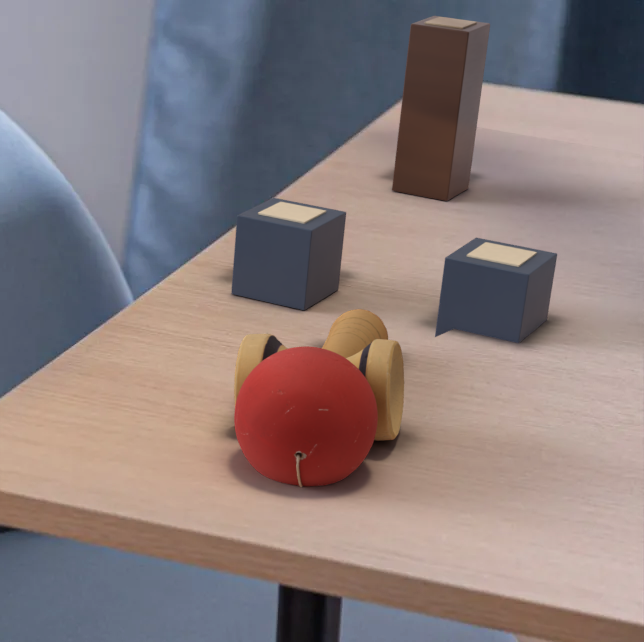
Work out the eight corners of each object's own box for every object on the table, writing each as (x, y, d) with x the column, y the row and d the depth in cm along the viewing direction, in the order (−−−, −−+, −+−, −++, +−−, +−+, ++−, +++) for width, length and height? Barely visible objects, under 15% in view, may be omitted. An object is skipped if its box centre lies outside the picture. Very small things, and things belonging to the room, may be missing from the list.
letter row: (230, 294, 98) (236, 213, 96) (267, 274, 101) (273, 195, 99) (516, 358, 90) (529, 272, 88) (544, 334, 94) (558, 251, 92)
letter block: (413, 178, 122) (433, 13, 117) (468, 188, 120) (491, 21, 115) (391, 191, 118) (410, 22, 114) (447, 201, 117) (469, 30, 112)
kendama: (261, 379, 90) (180, 470, 73) (297, 260, 87) (222, 326, 71) (407, 427, 88) (359, 531, 72) (447, 307, 86) (407, 386, 69)
